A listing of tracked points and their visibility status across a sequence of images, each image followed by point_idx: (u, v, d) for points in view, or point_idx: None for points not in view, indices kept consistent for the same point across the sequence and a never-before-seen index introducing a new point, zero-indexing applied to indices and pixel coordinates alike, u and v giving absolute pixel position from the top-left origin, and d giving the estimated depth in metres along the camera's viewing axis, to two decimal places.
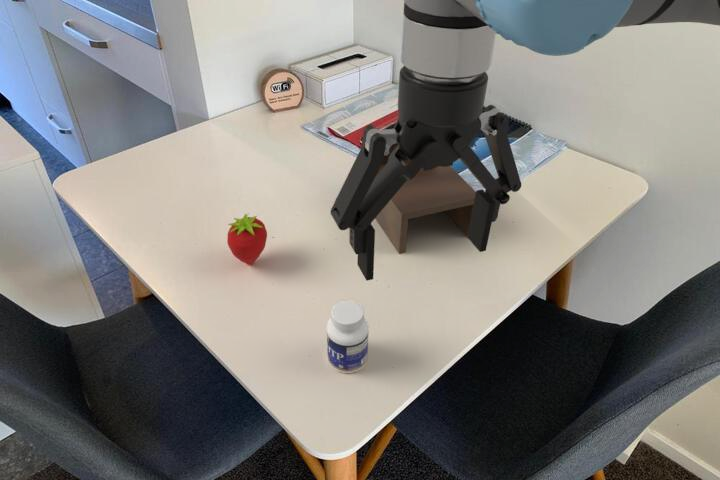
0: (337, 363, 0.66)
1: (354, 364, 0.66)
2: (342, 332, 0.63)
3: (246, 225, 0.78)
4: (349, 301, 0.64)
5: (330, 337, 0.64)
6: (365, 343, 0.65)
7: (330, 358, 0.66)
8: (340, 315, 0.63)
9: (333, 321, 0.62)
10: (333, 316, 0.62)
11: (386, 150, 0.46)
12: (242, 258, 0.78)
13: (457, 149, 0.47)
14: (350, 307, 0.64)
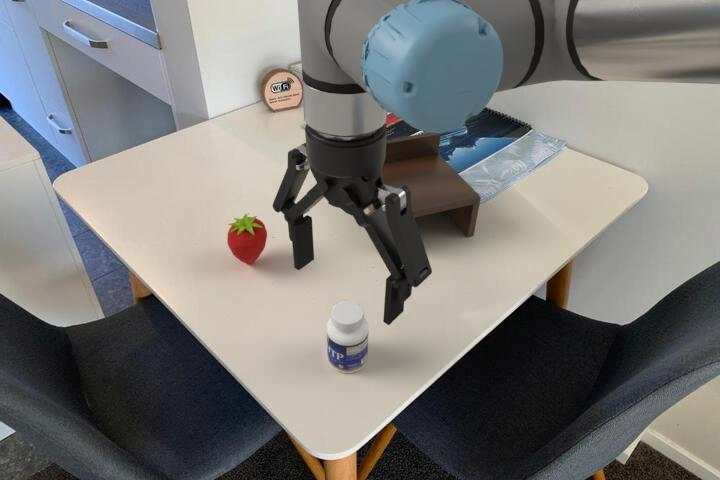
0: (337, 363, 0.66)
1: (354, 364, 0.66)
2: (342, 332, 0.63)
3: (246, 225, 0.78)
4: (349, 301, 0.64)
5: (330, 337, 0.64)
6: (365, 343, 0.65)
7: (330, 358, 0.66)
8: (340, 315, 0.63)
9: (333, 321, 0.62)
10: (333, 316, 0.62)
11: (297, 165, 0.53)
12: (242, 258, 0.78)
13: (342, 199, 0.50)
14: (350, 307, 0.64)
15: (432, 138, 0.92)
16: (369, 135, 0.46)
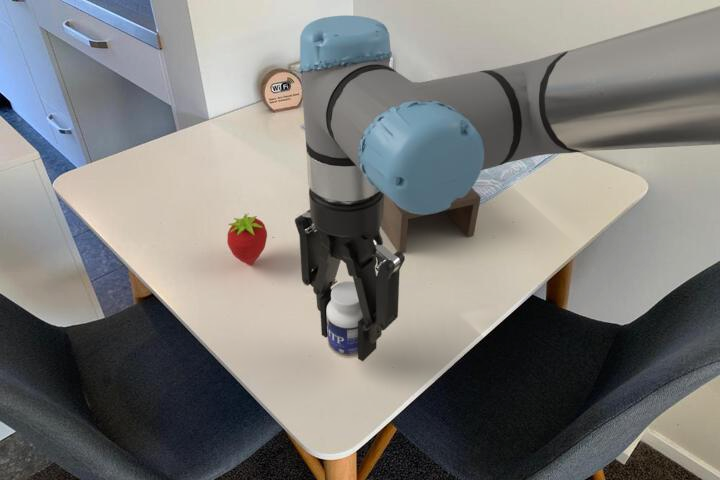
0: (337, 347, 0.63)
1: (355, 349, 0.63)
2: (343, 314, 0.61)
3: (246, 225, 0.78)
4: (349, 282, 0.62)
5: (330, 320, 0.61)
6: None
7: (330, 342, 0.64)
8: (340, 296, 0.60)
9: (333, 302, 0.60)
10: (333, 297, 0.60)
11: (305, 229, 0.58)
12: (242, 258, 0.78)
13: (343, 254, 0.54)
14: (350, 288, 0.61)
15: None
16: (368, 199, 0.50)
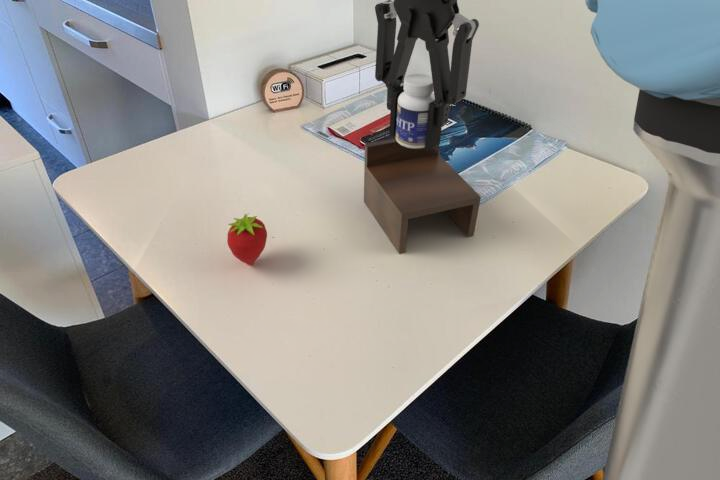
0: (407, 136, 0.71)
1: (423, 137, 0.71)
2: (415, 98, 0.68)
3: (246, 225, 0.78)
4: (419, 74, 0.69)
5: (402, 105, 0.69)
6: None
7: (400, 134, 0.71)
8: (413, 81, 0.68)
9: (406, 87, 0.68)
10: (407, 81, 0.67)
11: (384, 14, 0.65)
12: (242, 258, 0.78)
13: (424, 24, 0.61)
14: (421, 77, 0.69)
15: None
16: None
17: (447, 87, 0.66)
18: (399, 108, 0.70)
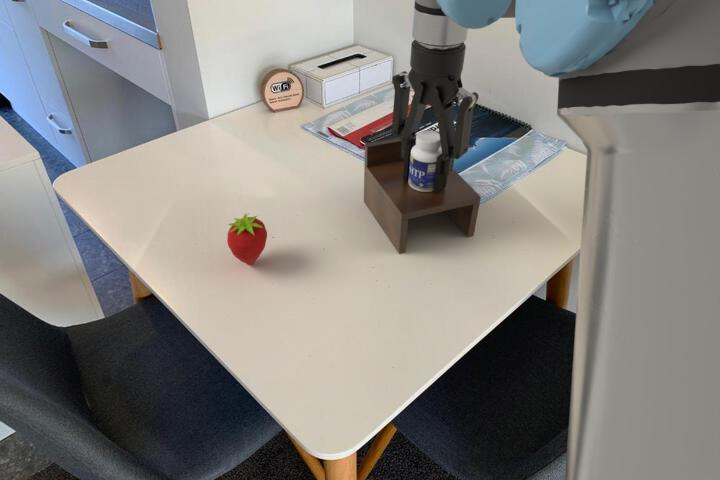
0: (418, 182, 0.84)
1: (432, 183, 0.84)
2: (425, 152, 0.81)
3: (246, 225, 0.78)
4: (429, 131, 0.83)
5: (415, 157, 0.82)
6: None
7: (412, 180, 0.85)
8: (424, 137, 0.81)
9: (418, 142, 0.81)
10: (418, 138, 0.81)
11: (400, 84, 0.78)
12: (242, 258, 0.78)
13: (433, 95, 0.75)
14: (430, 134, 0.82)
15: None
16: (456, 47, 0.70)
17: (452, 144, 0.79)
18: (412, 159, 0.83)
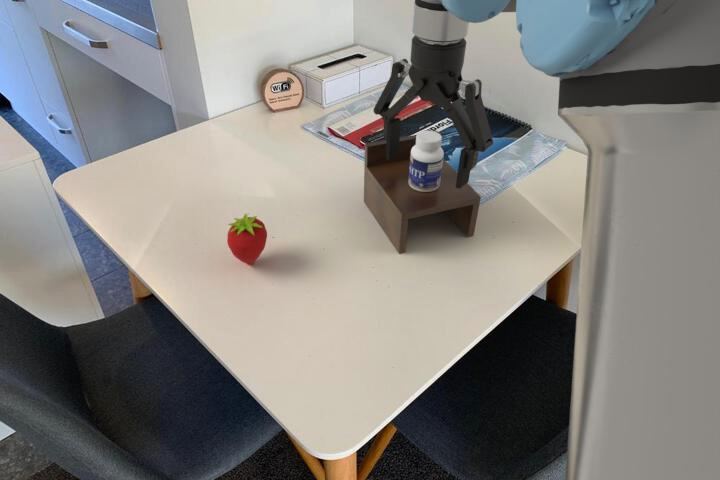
0: (418, 182, 0.84)
1: (432, 183, 0.84)
2: (425, 152, 0.81)
3: (246, 225, 0.78)
4: (429, 131, 0.83)
5: (415, 157, 0.82)
6: (441, 164, 0.83)
7: (412, 180, 0.85)
8: (424, 137, 0.81)
9: (418, 142, 0.81)
10: (418, 138, 0.81)
11: (399, 73, 0.78)
12: (242, 258, 0.78)
13: (434, 92, 0.74)
14: (430, 134, 0.82)
15: None
16: (457, 42, 0.70)
17: (473, 135, 0.76)
18: (412, 159, 0.83)
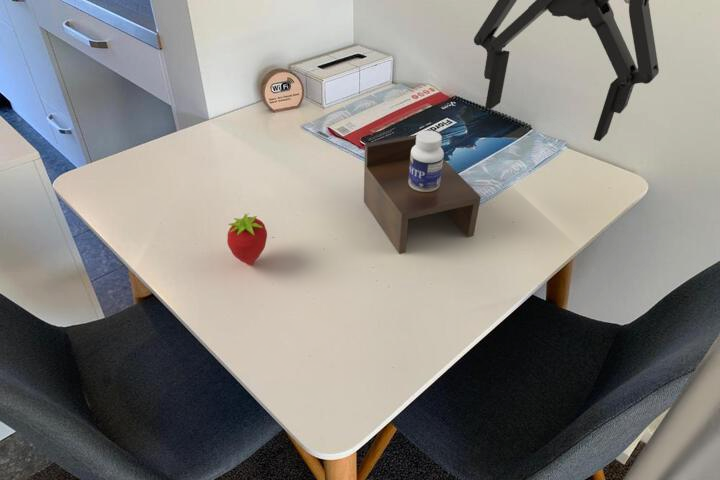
0: (418, 182, 0.84)
1: (432, 183, 0.84)
2: (425, 152, 0.81)
3: (246, 225, 0.78)
4: (429, 131, 0.83)
5: (415, 157, 0.82)
6: (441, 164, 0.83)
7: (412, 180, 0.85)
8: (424, 138, 0.81)
9: (418, 142, 0.81)
10: (418, 138, 0.81)
11: None
12: (242, 258, 0.78)
13: None
14: (430, 134, 0.82)
15: None
16: None
17: (630, 62, 0.55)
18: (412, 159, 0.83)
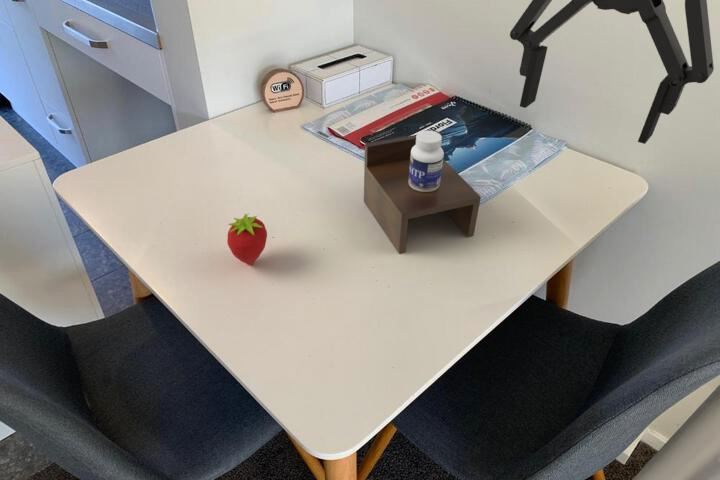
0: (418, 182, 0.84)
1: (432, 183, 0.84)
2: (425, 152, 0.81)
3: (246, 225, 0.78)
4: (429, 131, 0.83)
5: (415, 157, 0.82)
6: (441, 164, 0.83)
7: (412, 180, 0.85)
8: (424, 138, 0.81)
9: (418, 142, 0.81)
10: (418, 138, 0.81)
11: None
12: (242, 258, 0.78)
13: None
14: (430, 134, 0.82)
15: None
16: None
17: (682, 60, 0.51)
18: (412, 159, 0.83)
